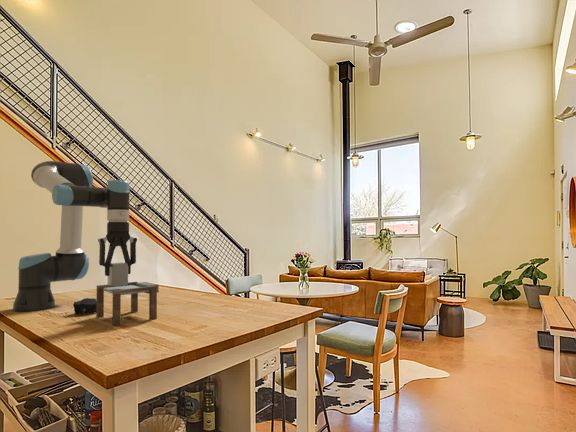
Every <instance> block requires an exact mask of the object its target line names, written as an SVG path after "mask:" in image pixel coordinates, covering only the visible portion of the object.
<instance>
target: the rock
mask: <svg viewBox="0 0 576 432" xmlns="http://www.w3.org/2000/svg"><path fill="white" fill-rule="evenodd" d="M96 304H97V298H88V297H87V298H86V297H85V298H82V299H81V300H78V301H74V302H73V304H72V305H73V308H74V309H73V310H74V314H75V315H84V314H83V313H86V314H88V313H89V314H95V313H94V312H96Z"/></svg>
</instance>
